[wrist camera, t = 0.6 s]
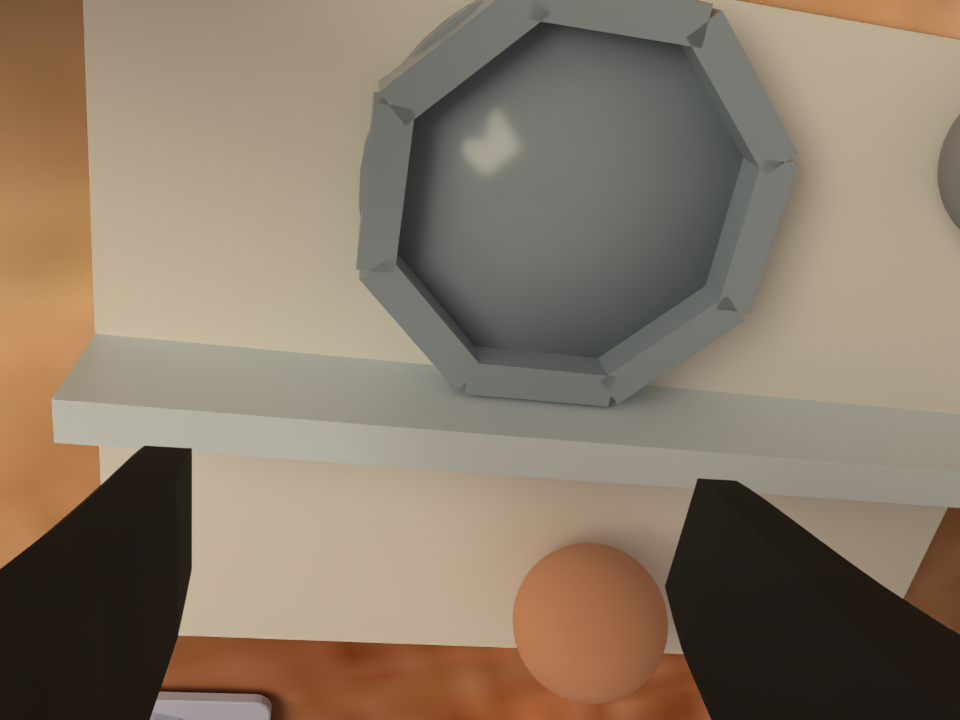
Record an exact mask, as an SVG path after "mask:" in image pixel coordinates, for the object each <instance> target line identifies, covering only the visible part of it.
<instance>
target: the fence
mask: <svg viewBox="0 0 960 720" xmlns="http://www.w3.org/2000/svg"><path fill="white" fill-rule="evenodd" d="M51 400H52V416H53V431H54V443H65V444H79V445H93V446H107V447H121V448H135V449H141V448H142V447H143V446H160V447H177V448H192V453H204V454H218V455H232V456H245V457H259V458H273V459H287V460H301V461H315V462H329V463H342V464H356V465H370V466H384V467H398V468H412V469H425V470H439V471H453V472H467V473H481V474H495V475H509V476H522V477H536V478H550V479H564V480H578V481H592V482H605V483H619V484H633V485H647V486H661V487H675V488H689V489H695V486H696V482H697V479H698V478H700V479H717V480H734V481H738V482H740V483H741V484H743V485H744V486H746V487H748V488H749V489H751V490H752V491H754V492H755V493H758V494H772V495H785V496H799V497H813V498H827V499H841V500H855V501H869V502H882V503H896V504H910V505H924V506H938V507H952V508H960V414H952V413H941V412H930V411H920V410H909V409H898V408H887V407H877V406H866V405H855V404H845V403H834V402H823V401H812V400H802V399H791V398H780V397H770V396H759V395H748V394H737V393H727V392H716V391H705V390H695V389H684V388H673V387H662V386H652V385H646V386H645V387H643V388H642V389H640V390H639V391H637V392H636V393H634V394H633V395H631V396H630V397H628V398H627V399H625V400H623V401H622V402H620V403H619V404H617V403H616V402H615V400H614V399H613V398H612V396H611V398H610V402H609V405H608V407H605V406H594V405H582V404H571V403H560V402H548V401H537V400H526V399H514V398H503V397H492V396H480V395H469V394H464V389H463V385H462V386H461V387H459V388H458V389H457V390H455V388H454V387H453V386H452V385H451V384H450V383H449V382H448V380H447V379H446V378H445V377H444V376H443V375H442V374H441V372H440V371H439V370H438V369H437V368H436V367H435V366H434V365H427V364H416V363H405V362H395V361H384V360H373V359H362V358H352V357H341V356H330V355H320V354H309V353H298V352H287V351H277V350H266V349H255V348H245V347H234V346H223V345H212V344H202V343H191V342H180V341H170V340H159V339H148V338H137V337H127V336H116V335H105V334H94V336H93V337H92V339H91V340H90V342H89V343H88V345H87V346H86V348H85V349H84V351H83V352H82V354H81V355H80V357H79V359H78V360H77V362H76V363H75V365H74V366H73V368H72V369H71V371H70V372H69V374H68V375H67V377H66V378H65V380H64V381H63V383H62V384H61V386H60V387H59V389H58V390H57V392H56V393H55V395H54V396H53V398H52V399H51Z"/></svg>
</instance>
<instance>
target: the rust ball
mask: <svg viewBox="0 0 960 720" xmlns="http://www.w3.org/2000/svg"><path fill="white" fill-rule="evenodd" d="M513 633H514V638H515V643H516V646H517V649H518V652H519V654H520V656H521V658H522V660H523V662H524V664H525V666H526V667H527V669H528V670H529V671H530V673H531V674H532V675H533V676H534V677H535V679H536V680H537V681H538V682H539V683H541V684H542V685H543V686H544V687H545V688H546V689H548V690H550V691H551V692H553V693H554V694H556V695H558V696H560V697H562V698H564V699H567V700H570V701H573V702H577V703H583V704H603V703H609V702H613V701H616V700H619V699H621V698H624V697H626V696H628V695H630V694H631V693H633V692H634V691H636V690H637V689H639V688H640V687H641V686H642V685H643V684H644V683H645V682H646V681H647V680H648V679H649V678H650V677H651V675H652V674H653V673H654V671H655V670H656V668H657V667H658V665H659V663H660V661H661V658H662V656H663V654H664V650H665V646H666V642H667V635H668V617H667V610H666V606H665V603H664V599H663V596H662V594H661V592H660V590H659V588H658V586H657V584H656V582H655V581H654V579H653V578H652V576H651V575H650V574H649V572H648V571H647V570H646V569H645V568H644V567H643V566H642V565H641V564H640V563H639V562H638V561H636V560H635V559H634V558H632V557H631V556H630V555H628V554H626V553H624V552H622V551H620V550H619V549H616V548H613V547H611V546H607V545H602V544H597V543H578V544H573V545H568V546H565V547H562V548H559V549H557V550H555V551H553V552H551V553H549V554H548V555H546V556H545V557H543V558H542V559H541V560H540V561H538V562H537V563H536V564H535V565H534V567H533V568H532V569H531V570H530V571H529V572H528V574H527V575H526V577H525V578H524V580H523V582H522V584H521V586H520V588H519V590H518V592H517V596H516V599H515V603H514V608H513Z"/></svg>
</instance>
